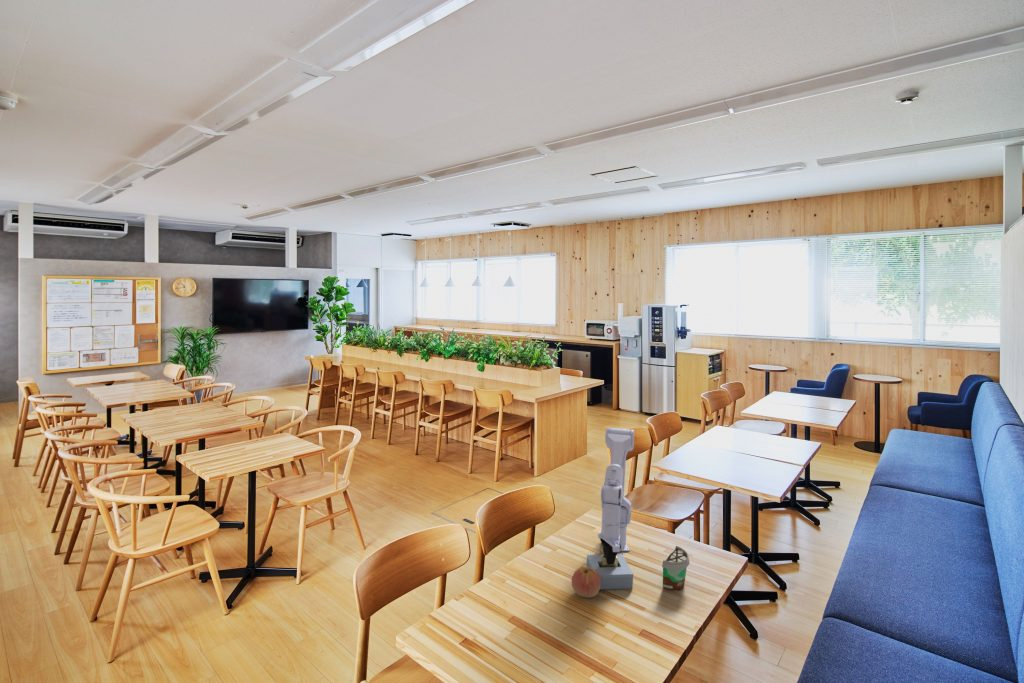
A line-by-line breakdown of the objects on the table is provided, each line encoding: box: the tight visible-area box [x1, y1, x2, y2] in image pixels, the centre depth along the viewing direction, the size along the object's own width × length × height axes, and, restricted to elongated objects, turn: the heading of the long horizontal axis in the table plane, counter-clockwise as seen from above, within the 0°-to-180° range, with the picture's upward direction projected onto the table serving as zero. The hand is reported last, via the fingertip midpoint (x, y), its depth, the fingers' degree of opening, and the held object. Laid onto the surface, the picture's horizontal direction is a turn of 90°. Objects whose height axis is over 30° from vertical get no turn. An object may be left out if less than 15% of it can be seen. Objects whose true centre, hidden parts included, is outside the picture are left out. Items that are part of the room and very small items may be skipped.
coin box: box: [586, 553, 634, 591], centre depth 168 cm, size 12×12×5 cm
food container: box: [661, 545, 690, 592], centre depth 165 cm, size 12×6×10 cm, turn 143°
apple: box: [571, 566, 601, 599], centre depth 159 cm, size 9×9×8 cm
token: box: [600, 554, 618, 568], centre depth 168 cm, size 2×5×5 cm, turn 95°
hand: (609, 561), depth 168 cm, fingers closed on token, 2 cm apart
